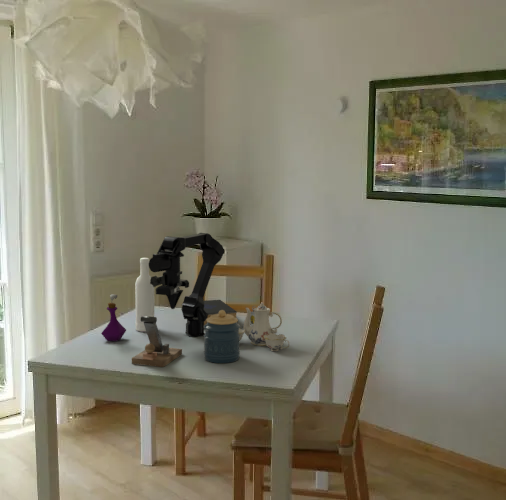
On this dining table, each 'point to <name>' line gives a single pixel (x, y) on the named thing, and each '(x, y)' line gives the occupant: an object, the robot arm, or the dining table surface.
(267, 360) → the dining table surface
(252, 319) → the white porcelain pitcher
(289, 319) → the dining table surface
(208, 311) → the book
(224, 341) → the canister
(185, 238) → the robot arm
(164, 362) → the board
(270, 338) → the chinaware
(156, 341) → the lever
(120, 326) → the perfume bottle
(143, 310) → the bottle
